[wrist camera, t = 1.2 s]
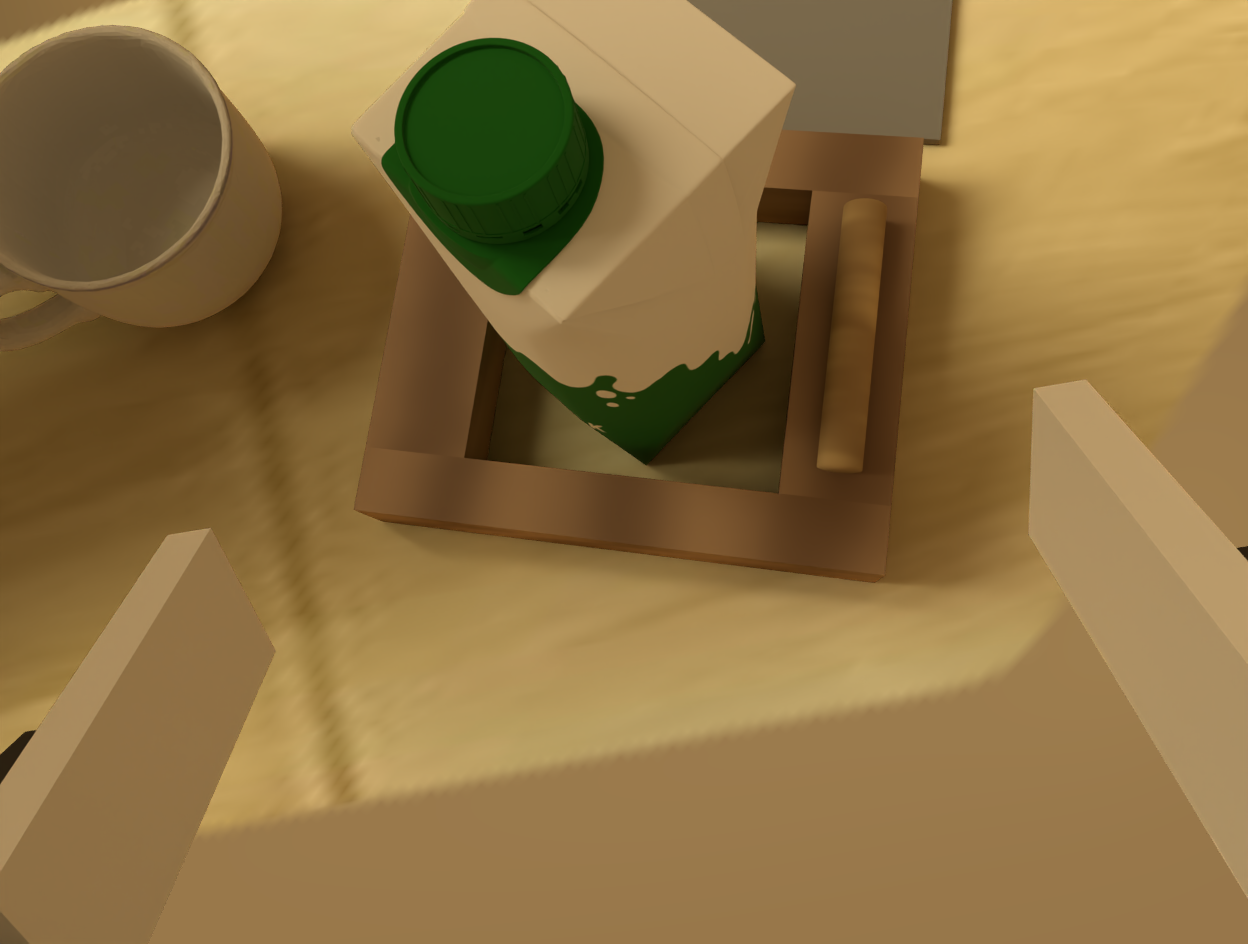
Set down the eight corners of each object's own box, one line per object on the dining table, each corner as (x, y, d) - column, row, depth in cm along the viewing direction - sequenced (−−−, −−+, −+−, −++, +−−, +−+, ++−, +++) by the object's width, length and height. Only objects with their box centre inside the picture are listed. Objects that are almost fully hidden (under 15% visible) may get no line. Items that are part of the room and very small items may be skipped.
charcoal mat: (609, 125, 42) (608, 120, 42) (646, -111, 45) (645, -118, 44) (938, 144, 40) (940, 139, 40) (960, -105, 43) (961, -112, 42)
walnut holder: (382, 521, 40) (336, 502, 36) (451, 147, 43) (417, 87, 39) (874, 582, 37) (891, 570, 33) (911, 176, 40) (931, 114, 36)
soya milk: (499, 358, 41) (273, 78, 22) (646, 208, 41) (556, -199, 22) (647, 498, 39) (546, 327, 20) (800, 338, 39) (850, 16, 20)
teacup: (234, 89, 45) (127, -31, 38) (361, 251, 43) (275, 158, 35) (-3, 273, 45) (-160, 191, 37) (112, 448, 42) (-31, 398, 35)
